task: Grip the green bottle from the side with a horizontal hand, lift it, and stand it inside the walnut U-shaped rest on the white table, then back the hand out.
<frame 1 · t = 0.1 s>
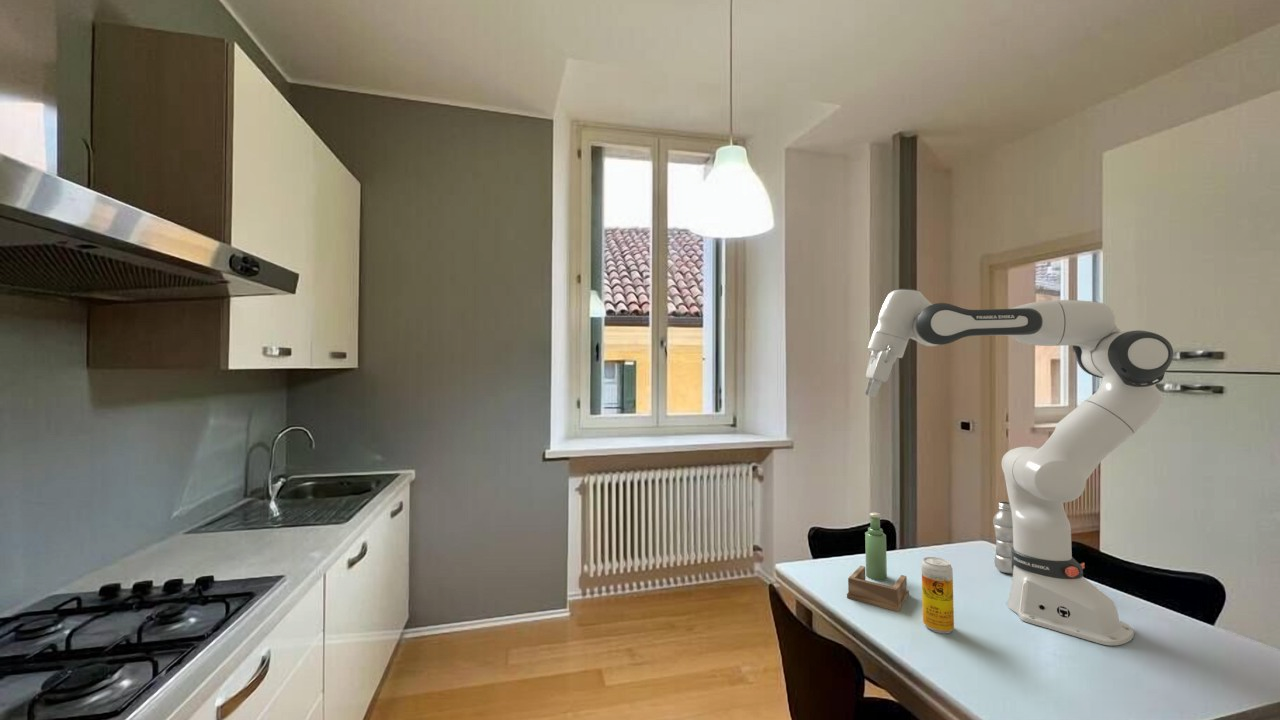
hand: (869, 396, 134), 52 cm above the table, tool tilted 20°, fingers open, 8 cm apart
rest: (878, 596, 129), on the table
plastic bottle: (1008, 573, 144), on the table
bottle: (876, 576, 142), on the table
beer can: (938, 628, 113), on the table
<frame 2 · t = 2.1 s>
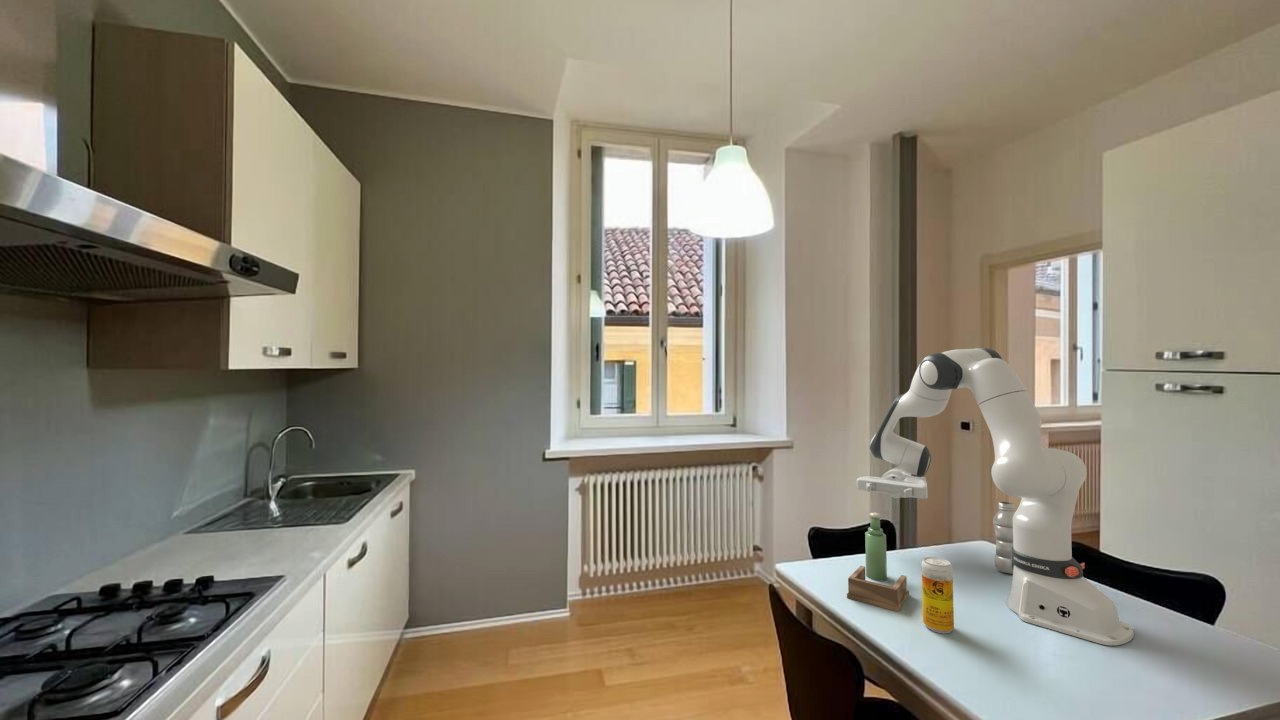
hand: (885, 491, 152), 22 cm above the table, tool horizontal, fingers open, 8 cm apart
nothing on the table moved.
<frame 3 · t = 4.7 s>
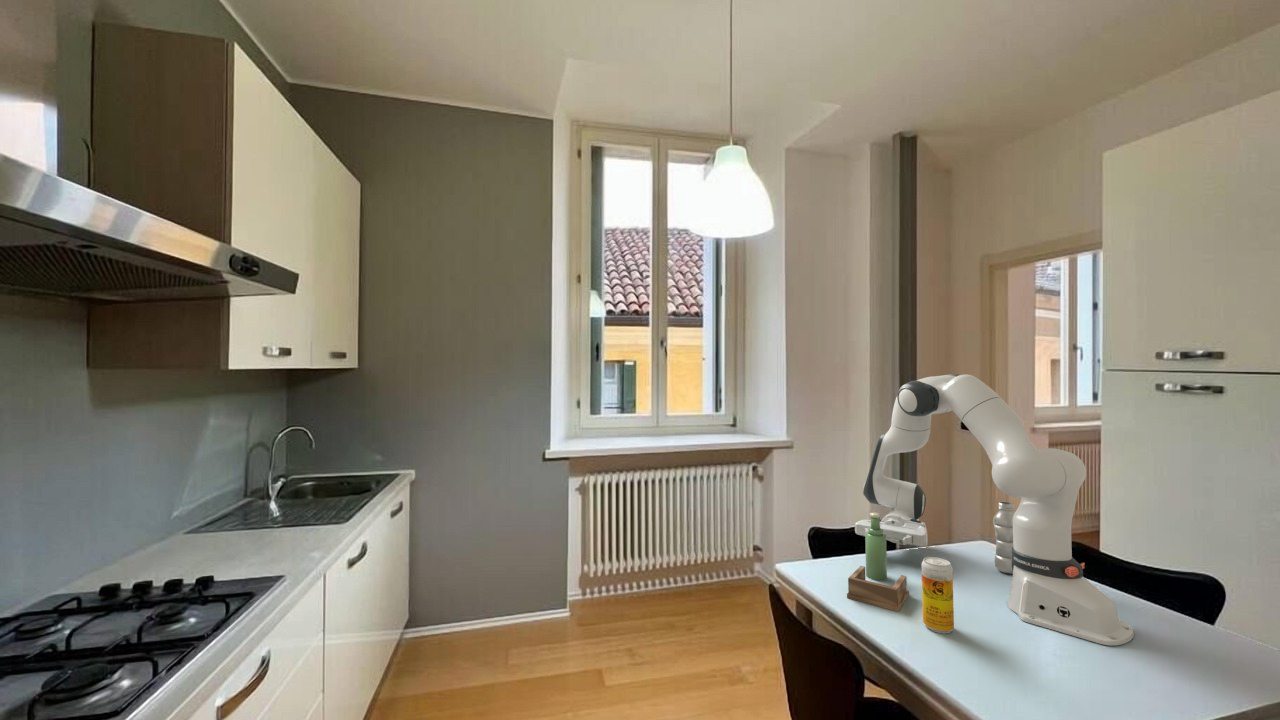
hand: (884, 538, 149), 8 cm above the table, tool horizontal, fingers open, 8 cm apart
nothing on the table moved.
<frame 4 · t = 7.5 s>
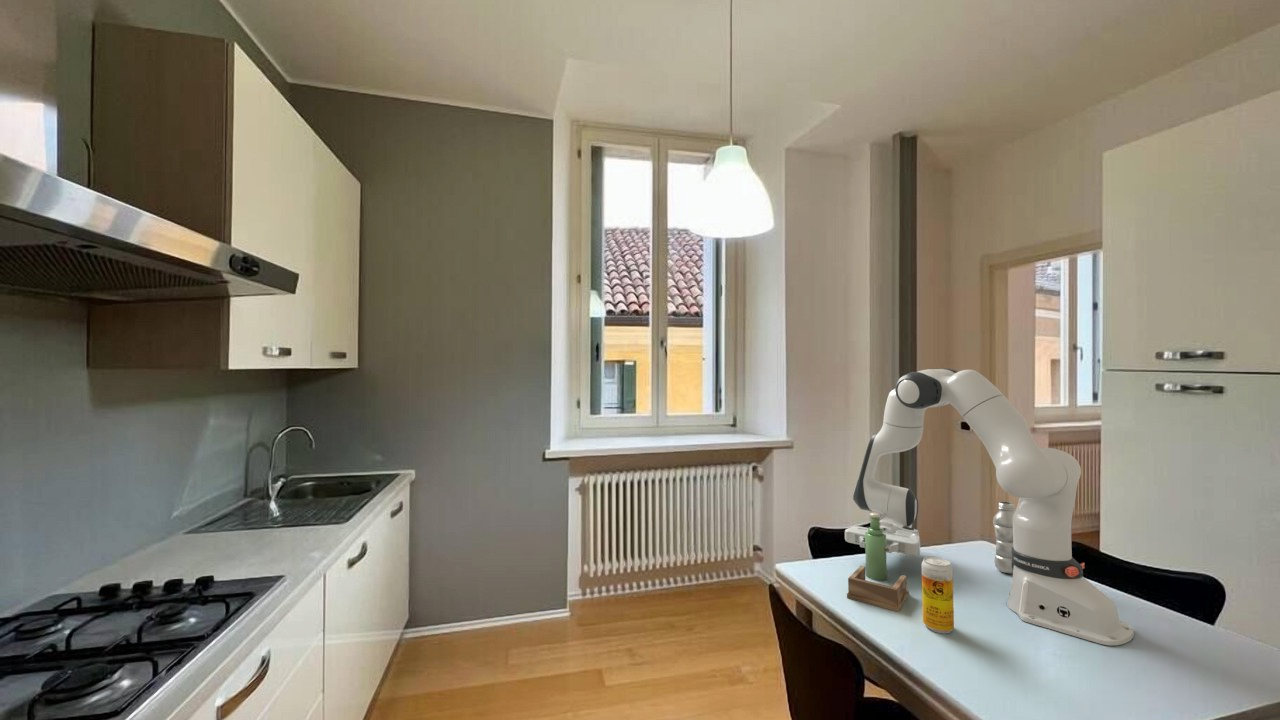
hand: (874, 547, 141), 9 cm above the table, tool horizontal, fingers closed on bottle, 5 cm apart
bottle: (876, 576, 142), on the table, touching gripper
everything else where it was.
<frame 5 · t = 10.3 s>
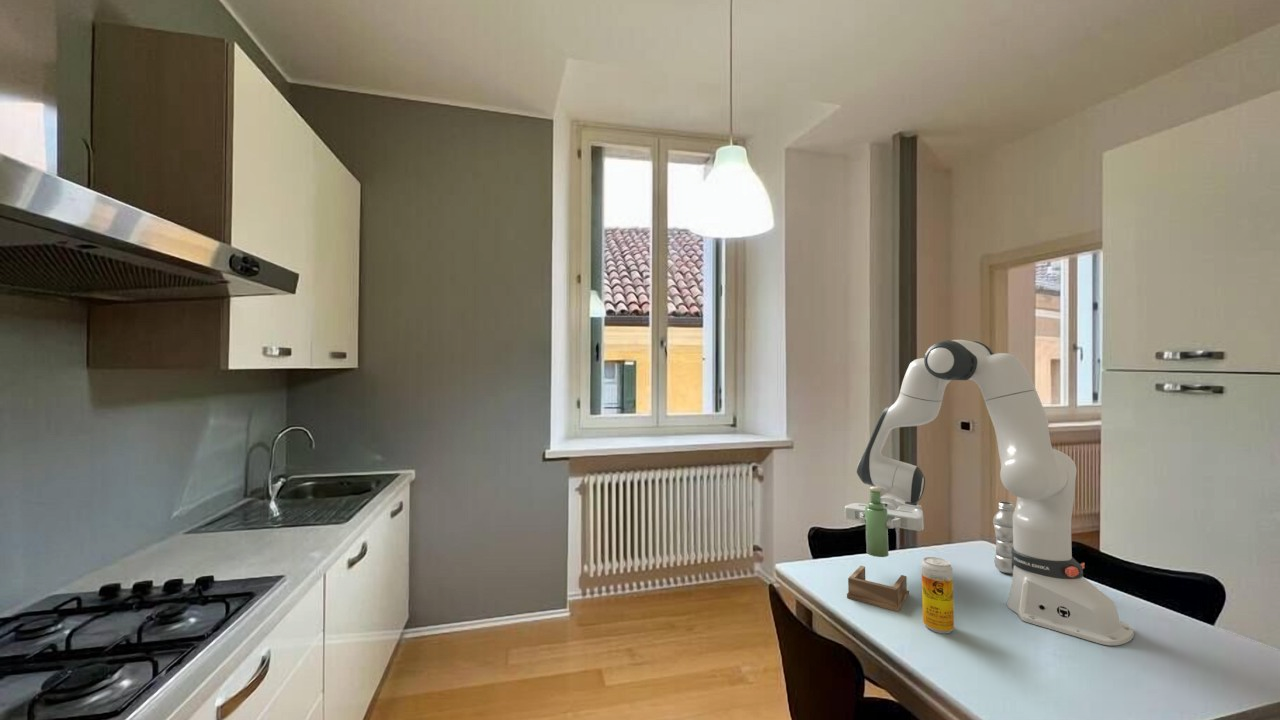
hand: (875, 522, 135), 18 cm above the table, tool horizontal, fingers closed on bottle, 5 cm apart
bottle: (877, 553, 135), point 9 cm above the table, touching gripper
everything else where it was.
when the fingers open (10 cm above the table, at t = 13.2 s): bottle stays where it is, resting on rest.
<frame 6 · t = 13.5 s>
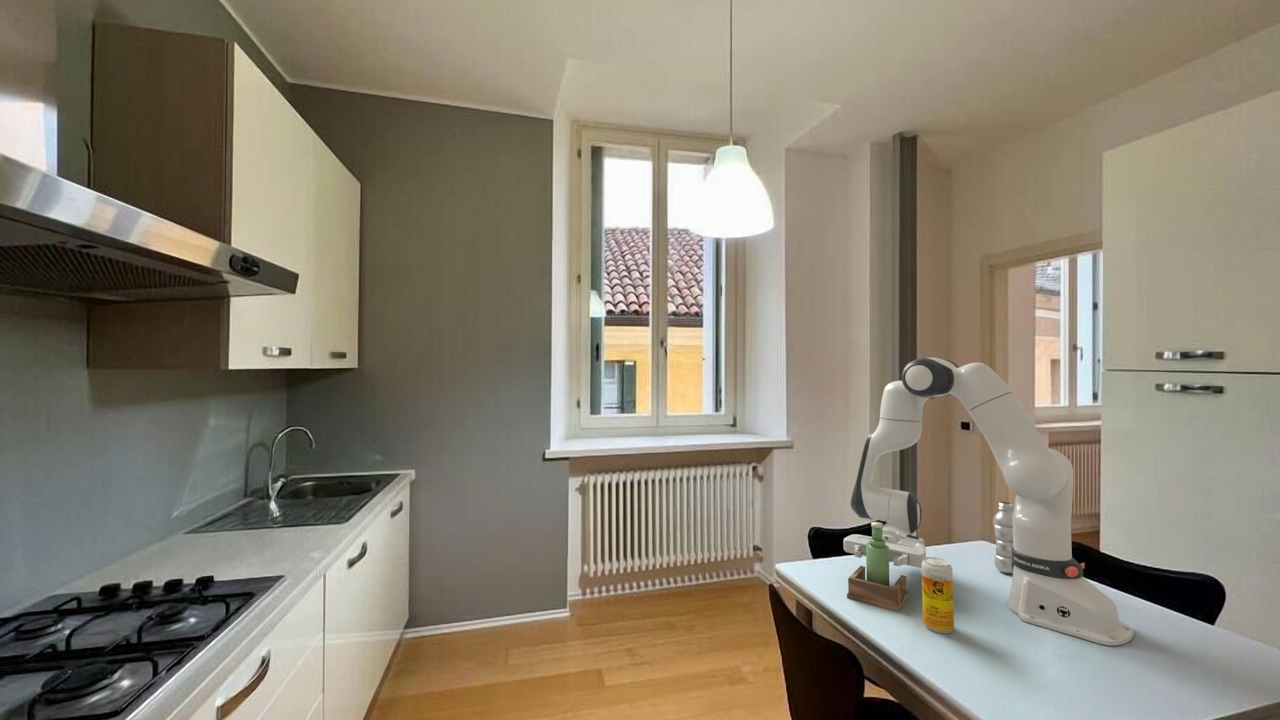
hand: (876, 558, 129), 10 cm above the table, tool horizontal, fingers open, 8 cm apart
bottle: (878, 592, 130), point 1 cm above the table, touching rest
everything else where it was.
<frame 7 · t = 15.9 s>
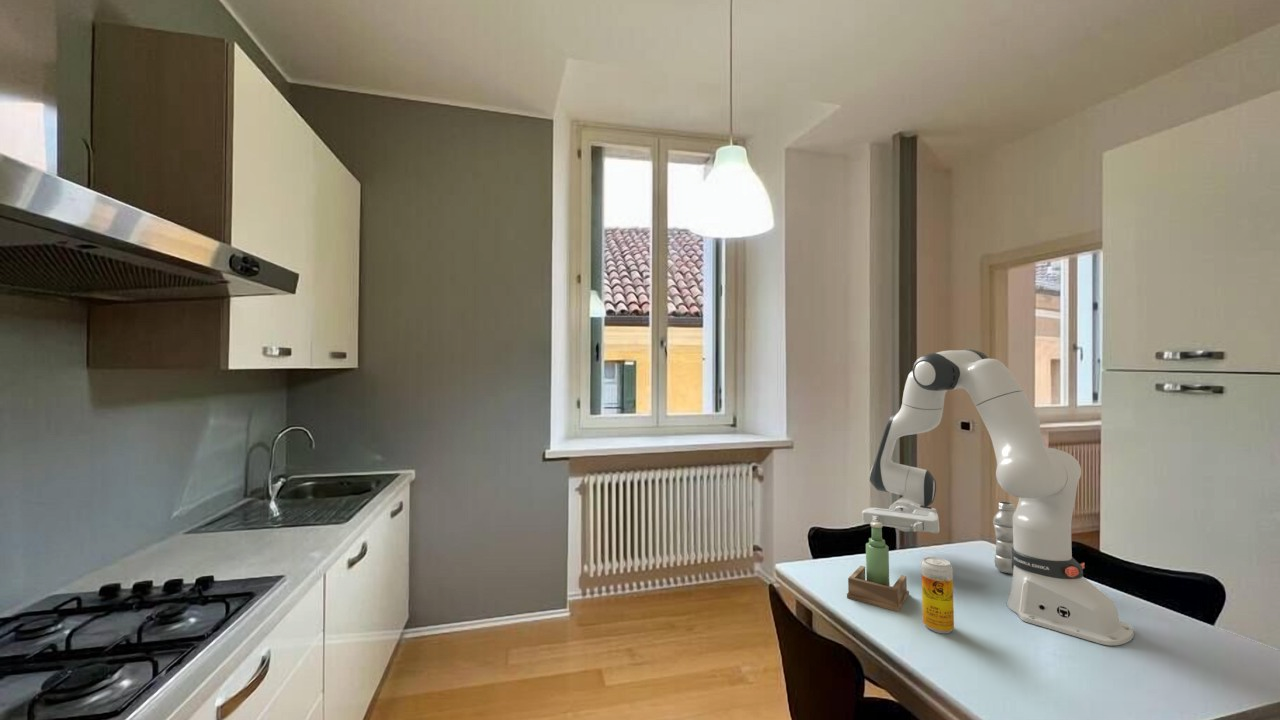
hand: (893, 525, 140), 15 cm above the table, tool horizontal, fingers open, 8 cm apart
nothing on the table moved.
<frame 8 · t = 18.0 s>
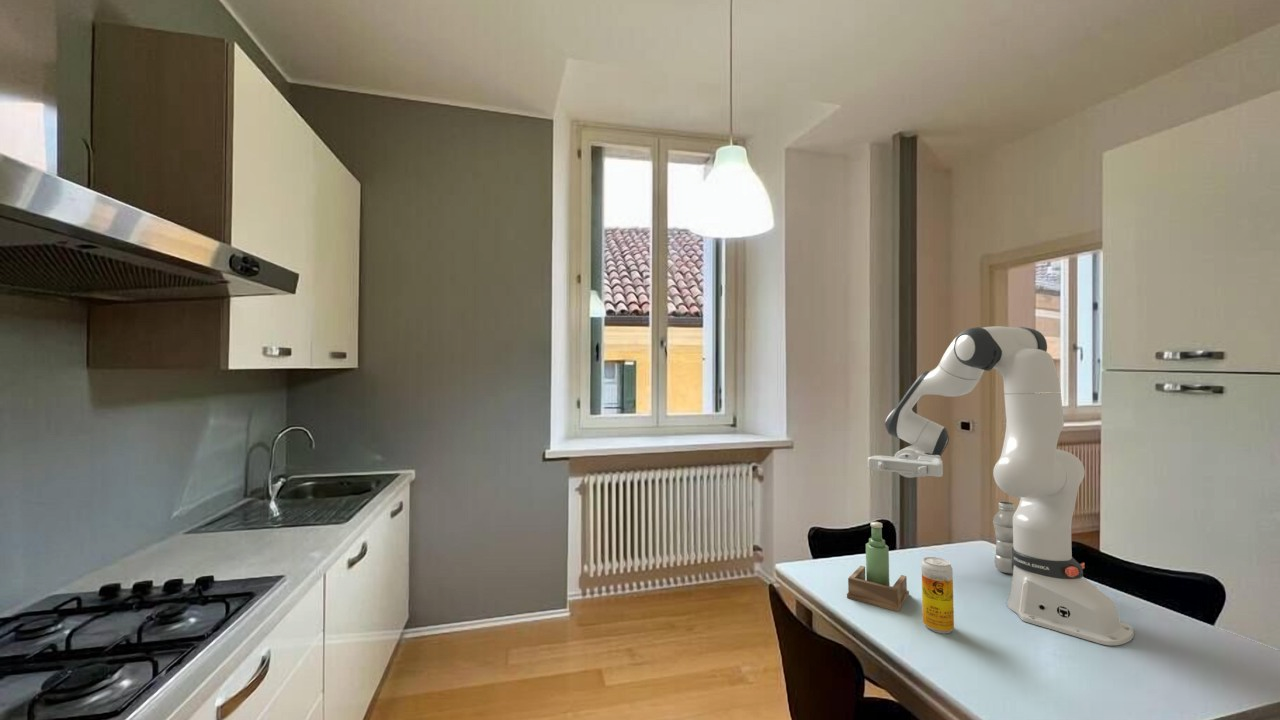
hand: (898, 469, 145), 30 cm above the table, tool horizontal, fingers open, 8 cm apart
nothing on the table moved.
at the end: bottle inside the target area on the rest (0.0 cm from its centre), point 1.0 cm above the rest's base; bottle tilted 0°; the gripper is holding nothing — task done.
